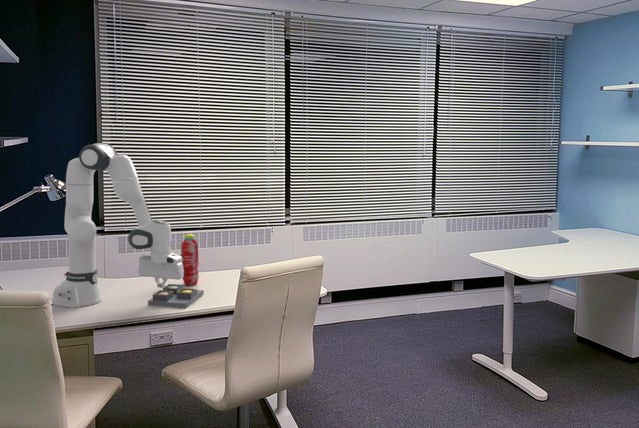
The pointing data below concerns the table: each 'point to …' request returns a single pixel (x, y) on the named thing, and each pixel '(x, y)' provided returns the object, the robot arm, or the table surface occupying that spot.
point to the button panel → (175, 297)
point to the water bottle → (190, 260)
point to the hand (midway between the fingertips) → (161, 287)
